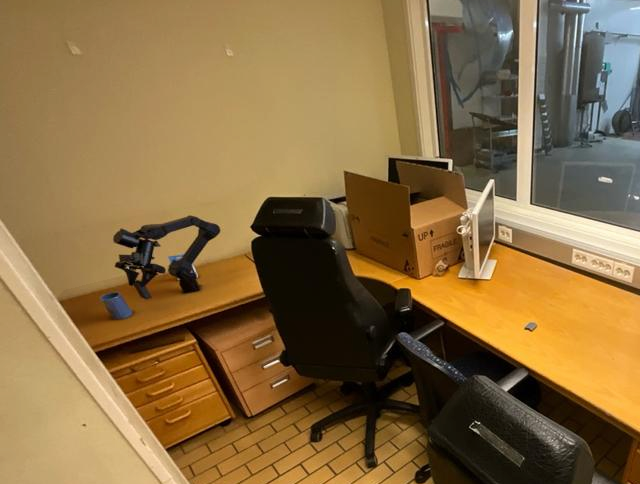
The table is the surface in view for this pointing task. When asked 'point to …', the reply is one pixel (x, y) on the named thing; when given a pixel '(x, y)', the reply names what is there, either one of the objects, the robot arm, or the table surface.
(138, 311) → the table surface
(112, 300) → the pen cup
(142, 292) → the ink cartridge
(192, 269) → the tape cartridge
